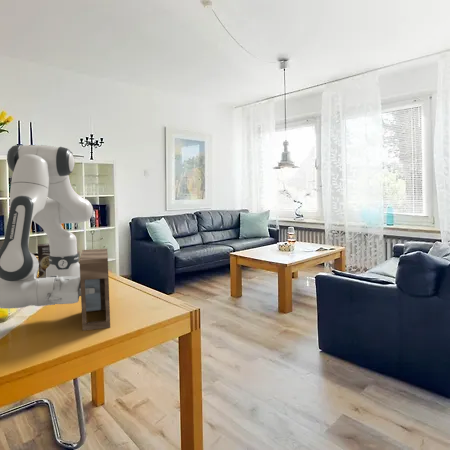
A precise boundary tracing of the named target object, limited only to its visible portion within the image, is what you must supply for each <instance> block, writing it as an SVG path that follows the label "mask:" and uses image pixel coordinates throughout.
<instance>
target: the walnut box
mask: <svg viewBox="0 0 450 450" xmlns="http://www.w3.org/2000/svg"><path fill="white" fill-rule="evenodd" d="M78 262H79V263H80V284H81V296H80V303H81V324H82V326H81V328H82V332H83V331H90V330H91V331H92V330H99V329H100V330H101V329H107V328H108V329H109V328H111V310H110V309H111V308H110V305H111V304H110V281H109V280H110V279H109V256H108V248H95V249H82V250H81V254H80V256H79V261H78ZM89 279H100V290H101V310H93V311H86V296H85V280H89ZM101 311H105V320H98V321H89V322H87V319H88V318H87V313H90V312H101Z"/></svg>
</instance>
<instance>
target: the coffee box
mask: <svg viewBox="0 0 450 450" xmlns="http://www.w3.org/2000/svg"><path fill="white" fill-rule="evenodd" d="M49 255H50V247H49V243H38V245H37V259H38V262H39V268H38V278H46V268H47V267H49V265H50V263H49Z"/></svg>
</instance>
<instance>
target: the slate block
mask: <svg viewBox="0 0 450 450" xmlns="http://www.w3.org/2000/svg"><path fill="white" fill-rule="evenodd" d="M89 287H95V293H93V294H87V295H85V296H86V311H92V312H94V311H93V310H101V290H100V279H89V280H85V288H89ZM101 311H102V310H101Z"/></svg>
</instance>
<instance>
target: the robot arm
mask: <svg viewBox="0 0 450 450" xmlns="http://www.w3.org/2000/svg"><path fill="white" fill-rule="evenodd" d="M6 160H7V161H6V162H7V166H8V169H10V171H11V172H12V177H11V181H10V191H9V213H8V219H7V224H6V229H5V234H4V240H3V242H2V243H3V244H2V245H1V247H0V309H24V308H26V307H27V308H28V307H30V306H32V307H34V306H35V307H43V306H53V305H70V304H77V303H79V300H80V297H81V284H80V264H79V260H80V255H79V253H78V243H77V241H78V239H77V236H76V235H75V234H74V233H73V232H71V231H68V230H66V229H64V227H63V226H62V224H79V223H84V222H88V221H90V219H92V216H93V214H94V208H93V205H92V203H91V202H90V201H89V199H86V198H85V197H82V196H81V195H80V194H78V193H77V192H76V191H75V190H74V188H73V186H72V184H71V181H70V174H71V173H73V170H74V168H75V158H74V153H73V152H72V151H71V150H70V149H69V148H68V147H67V148H66V147H62V146H59V147H58V146H54V145H48V144H47V145H46V144H39V145H38V144H37V145H36V144H29V145H26V144H25V145H24V144H15V145H13V146H11V147H10V148H9V149H8V151H7V154H6ZM32 222H34V223H35V224H37V225H39V226H40V227H41V228H42V230H43V231H44V232H45V234H46V236H47V239H48V244H49V247H50V255H49V263H50V265H49V267H47V268H46V278H39V277H38V274H39V262H38V257H37V256H35V254H34V253H32V252H31V251H30V249H29V242H30V235H31V230H32V229H31V228H32ZM93 293H95V287H89V288H85V295H87V294H93Z"/></svg>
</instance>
